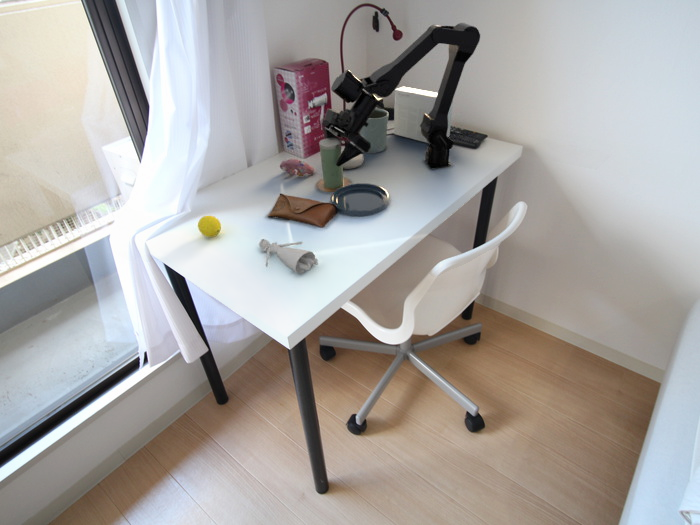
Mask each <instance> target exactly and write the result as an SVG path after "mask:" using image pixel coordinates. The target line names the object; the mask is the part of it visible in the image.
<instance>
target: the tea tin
mask: <svg viewBox="0 0 700 525" xmlns="http://www.w3.org/2000/svg"><path fill="white" fill-rule="evenodd" d="M338 138H339V137H338ZM338 138H326V139H324V138H322V139H320V140H319V142H318V145H319V152H320V153H321V154H320V153H319V154H320V160H321V170H322V179H323V181H324V186H325V187H327V188H339V187H341V186H343V184H344V178H345V177H344V169H343V165H341V166H339V167H338V166H337V165H336V163H337V161H338V159H339V157H340V155H341V154H342V151H343V150H342V140H341V139H340V138H339V139H338ZM343 177H344V178H343Z"/></svg>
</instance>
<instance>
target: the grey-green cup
mask: <svg viewBox="0 0 700 525" xmlns="http://www.w3.org/2000/svg"><path fill="white" fill-rule="evenodd" d="M367 123H368V126H367V127H366V126H363V128H362V129H361V131H360V132H359V135H361V136H362V137H364V138H365V139H366V140H367V141H368V142H370V143H371V148H370V150H369V151H368V153H369V154H374V153H380V152H383V151H384V150H386V146H387V135H388V123H389V112H388V111H387V110H385V109H381V108H375V110H374V111H373V113H372V114H371V116H370V117H369V119H368V120H367Z"/></svg>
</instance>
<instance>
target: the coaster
mask: <svg viewBox="0 0 700 525" xmlns="http://www.w3.org/2000/svg"><path fill="white" fill-rule="evenodd" d="M343 178H344V184H343V186H346V185H349V184H351V181H350V179H348V178H347V177H344V176H343ZM343 186H341V187H343ZM316 187H317V189H318V190H320V191H322V192H324V193H325V192H326V193H333V192H334V191H335V190H337V189H339V188H341V187H339V188H327V187H325V186H324V181H323V178H322V179H320V180H319V181H318V182H317V184H316Z"/></svg>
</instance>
